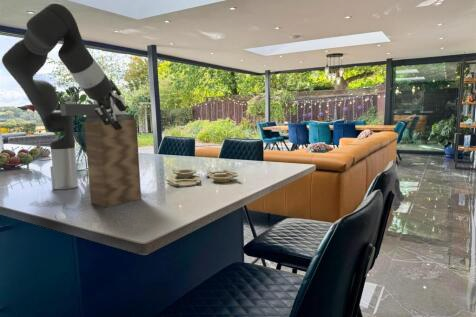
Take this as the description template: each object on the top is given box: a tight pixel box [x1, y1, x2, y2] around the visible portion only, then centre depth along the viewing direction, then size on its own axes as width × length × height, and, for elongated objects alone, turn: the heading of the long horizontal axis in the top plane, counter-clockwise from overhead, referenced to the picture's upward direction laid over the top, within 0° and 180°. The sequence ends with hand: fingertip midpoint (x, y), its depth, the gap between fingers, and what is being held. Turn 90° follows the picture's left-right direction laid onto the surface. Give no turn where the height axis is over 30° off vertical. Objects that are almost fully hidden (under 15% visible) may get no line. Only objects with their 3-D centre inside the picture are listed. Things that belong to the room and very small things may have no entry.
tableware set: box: [165, 167, 238, 188], centre depth 158 cm, size 35×29×4 cm
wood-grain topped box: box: [83, 113, 142, 208], centre depth 119 cm, size 14×10×31 cm
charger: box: [59, 96, 126, 116], centre depth 112 cm, size 20×6×6 cm, turn 142°
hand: (121, 119), depth 105 cm, fingers open, 8 cm apart
